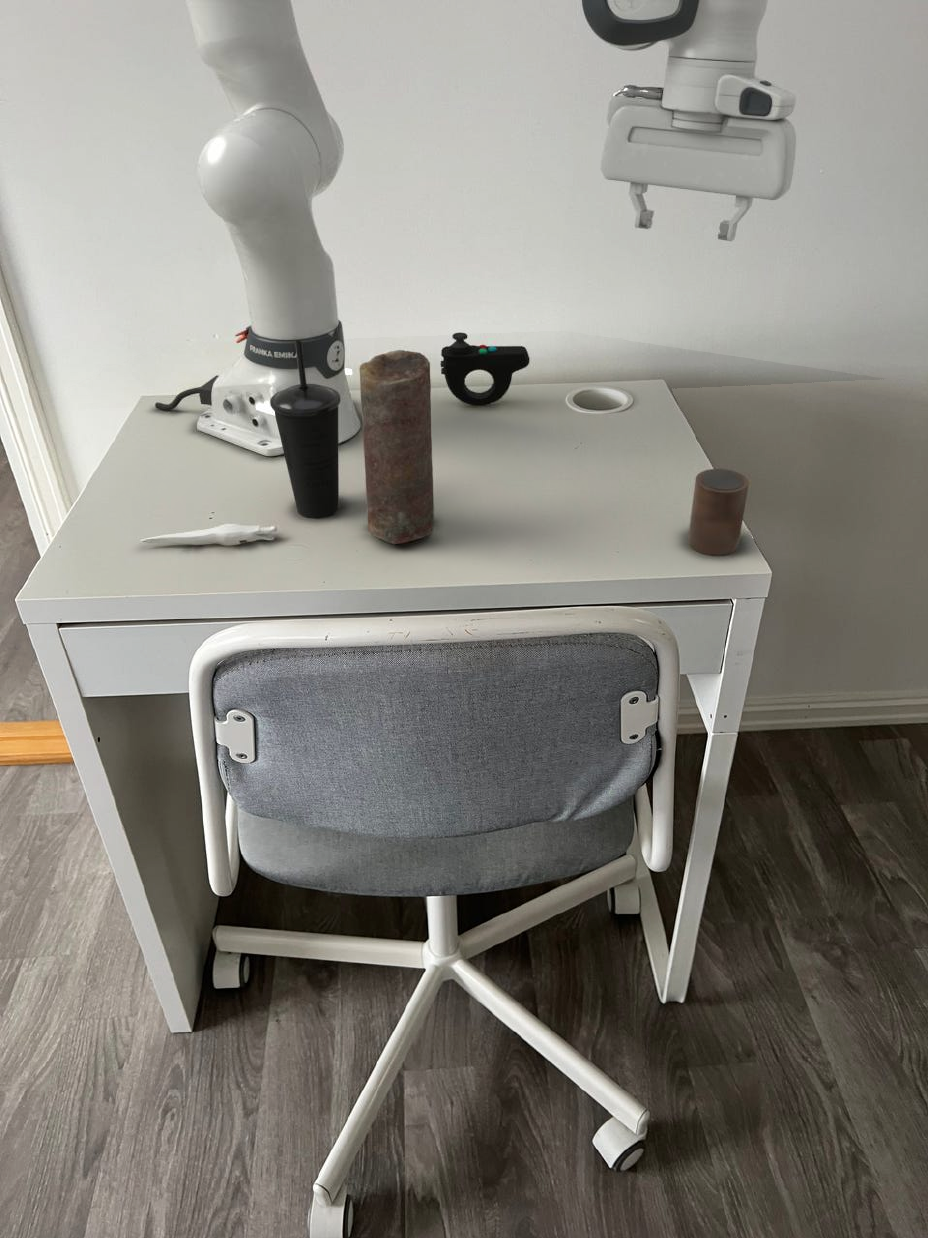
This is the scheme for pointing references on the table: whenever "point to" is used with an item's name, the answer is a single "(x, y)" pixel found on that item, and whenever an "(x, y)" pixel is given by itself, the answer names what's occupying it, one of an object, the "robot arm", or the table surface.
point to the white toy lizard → (216, 535)
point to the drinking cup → (310, 442)
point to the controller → (481, 368)
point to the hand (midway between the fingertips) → (683, 233)
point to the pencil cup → (717, 511)
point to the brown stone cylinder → (398, 445)
